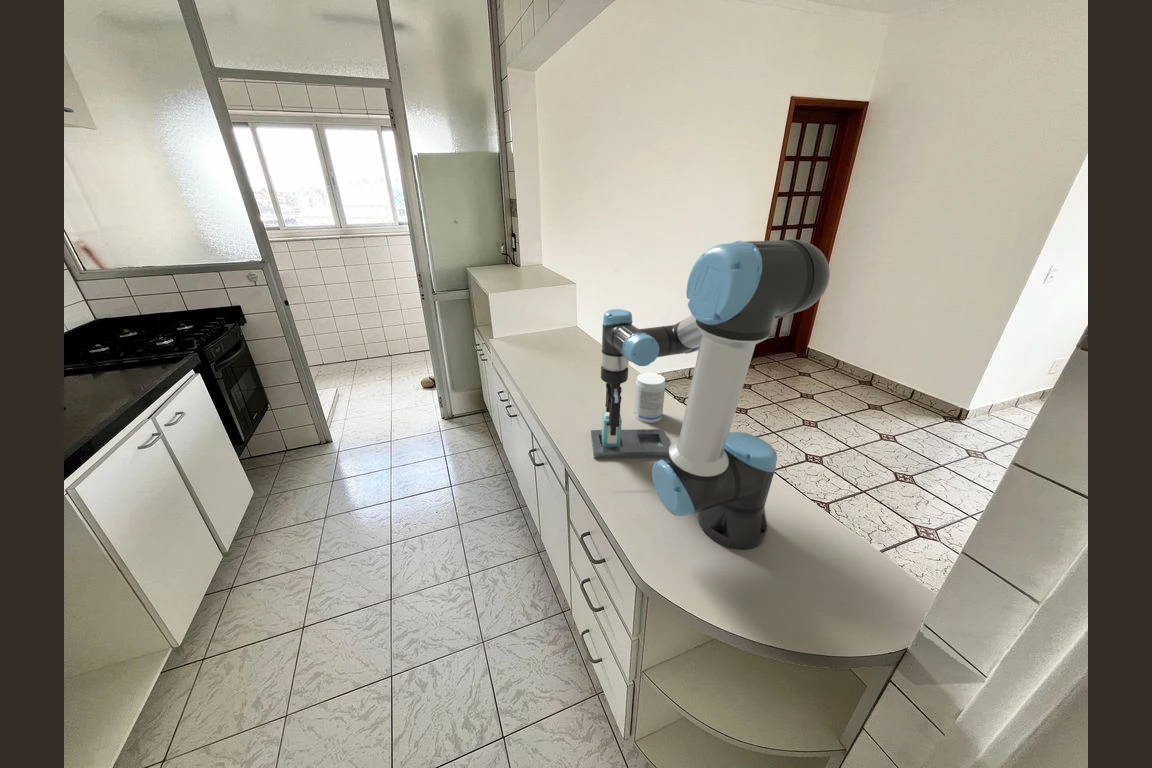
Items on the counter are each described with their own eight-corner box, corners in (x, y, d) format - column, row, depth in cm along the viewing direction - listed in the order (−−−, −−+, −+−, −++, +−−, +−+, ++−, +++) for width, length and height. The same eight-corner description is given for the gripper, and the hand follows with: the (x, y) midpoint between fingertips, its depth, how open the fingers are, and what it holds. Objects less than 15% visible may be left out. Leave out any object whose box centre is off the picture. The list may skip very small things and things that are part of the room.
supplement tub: (667, 419, 140) (672, 380, 134) (646, 427, 135) (650, 387, 129) (648, 407, 147) (651, 370, 141) (627, 414, 143) (630, 376, 136)
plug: (619, 449, 122) (621, 418, 117) (603, 449, 122) (604, 418, 117) (617, 440, 127) (619, 409, 122) (601, 440, 126) (602, 409, 122)
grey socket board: (672, 458, 120) (673, 451, 119) (593, 459, 119) (593, 452, 118) (662, 435, 131) (663, 429, 130) (590, 436, 130) (590, 430, 129)
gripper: (633, 380, 105) (627, 454, 115) (623, 353, 121) (619, 421, 131) (604, 380, 105) (601, 455, 115) (598, 353, 121) (595, 421, 131)
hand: (610, 437), depth 123 cm, fingers closed on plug, 5 cm apart
